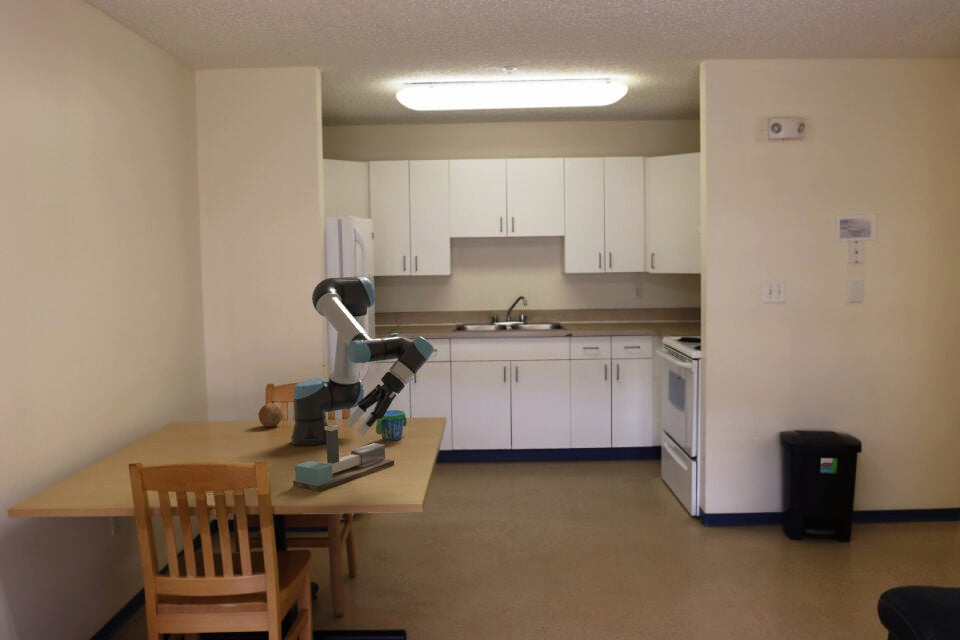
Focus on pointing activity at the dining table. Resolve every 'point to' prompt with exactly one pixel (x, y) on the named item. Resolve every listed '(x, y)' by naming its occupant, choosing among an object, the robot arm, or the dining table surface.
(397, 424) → the snack cup
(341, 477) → the long brown base plank
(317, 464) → the socket
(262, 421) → the brown ball
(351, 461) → the tube
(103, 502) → the dining table surface
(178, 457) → the dining table surface
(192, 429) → the dining table surface
